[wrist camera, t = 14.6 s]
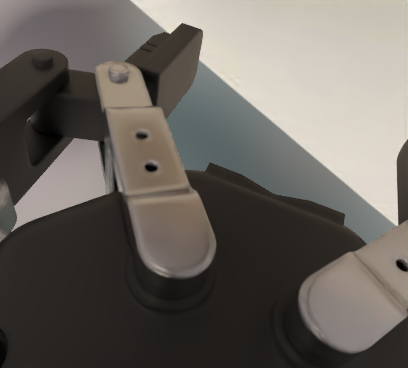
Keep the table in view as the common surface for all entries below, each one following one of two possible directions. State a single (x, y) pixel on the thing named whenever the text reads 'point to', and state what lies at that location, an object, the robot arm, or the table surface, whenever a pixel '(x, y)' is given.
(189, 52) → the robot arm
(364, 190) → the table surface
